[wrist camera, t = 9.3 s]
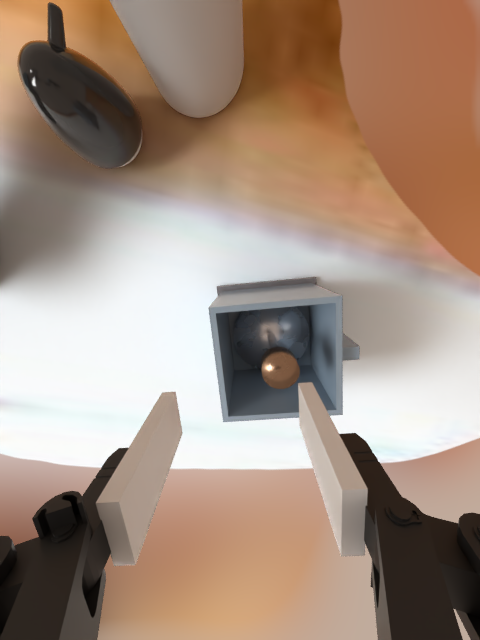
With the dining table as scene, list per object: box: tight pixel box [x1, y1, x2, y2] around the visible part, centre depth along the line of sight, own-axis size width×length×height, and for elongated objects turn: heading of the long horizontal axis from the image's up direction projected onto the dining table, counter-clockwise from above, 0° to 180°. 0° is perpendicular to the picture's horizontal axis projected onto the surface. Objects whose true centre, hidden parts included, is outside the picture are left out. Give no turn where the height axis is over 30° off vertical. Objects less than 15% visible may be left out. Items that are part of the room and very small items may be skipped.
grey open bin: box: [209, 277, 359, 422], centre depth 36 cm, size 18×16×15 cm
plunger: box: [234, 306, 309, 389], centre depth 33 cm, size 12×12×13 cm
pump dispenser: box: [17, 2, 142, 169], centre depth 30 cm, size 10×10×15 cm
